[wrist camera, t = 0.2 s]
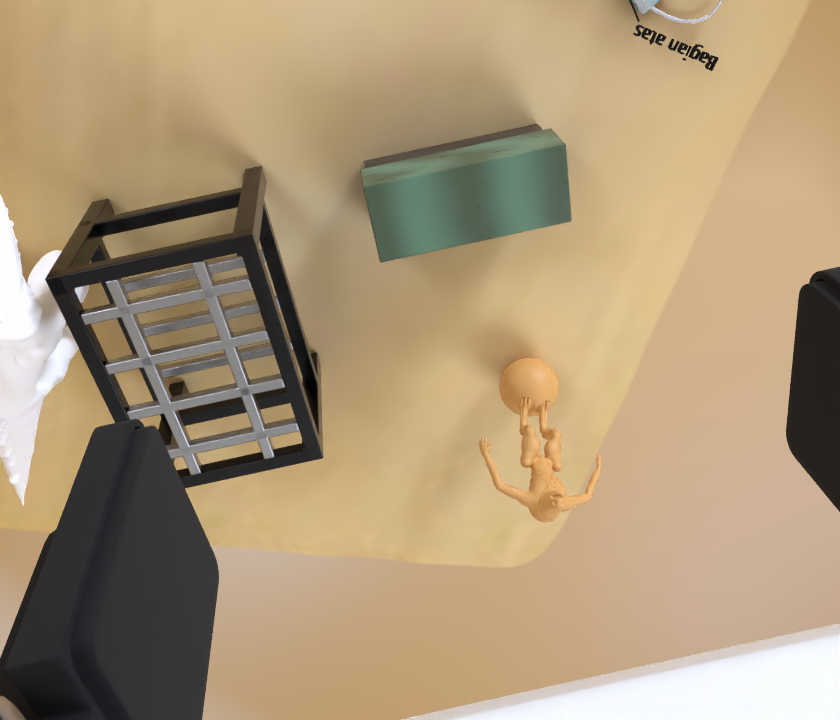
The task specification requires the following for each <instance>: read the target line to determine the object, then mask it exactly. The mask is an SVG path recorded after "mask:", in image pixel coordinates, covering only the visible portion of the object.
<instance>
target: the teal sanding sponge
mask: <svg viewBox="0 0 840 720" xmlns="http://www.w3.org/2000/svg"><path fill="white" fill-rule="evenodd" d="M364 164H365V169H361V170H360V172H361V177H362V183H363V189H364V193H365V197H366V202H367V206H368V211H369V215H370V220H371V224H372V228H373V233H374V237H375V242H376V246H377V250H378V255H379V259H380V262H385V261H390V260H395V259H399V258H404V257H409V256H413V255H418V254H423V253H427V252H432V251H436V250H441V249H446V248H450V247H455V246H460V245H464V244H469V243H473V242H478V241H483V240H487V239H492V238H497V237H501V236H506V235H510V234H515V233H520V232H524V231H529V230H534V229H538V228H543V227H547V226H552V225H557V224H561V223H566V222H571V207H570V194H569V181H568V168H567V155H566V145H565V143H564V142H563V141H562V140H561V139H560V138H559V137H558V136H557V134H556V133H555V132H554V131H553V130H552V129H546V130H542V128H541V127H540V126H539V125H538V124H535V125H530V126H525V127H521V128H516V129H511V130H507V131H502V132H497V133H493V134H488V135H484V136H479V137H474V138H470V139H465V140H460V141H456V142H451V143H446V144H442V145H437V146H432V147H428V148H423V149H418V150H414V151H409V152H404V153H400V154H395V155H391V156H386V157H381V158H377V159H372V160H367V161H364Z"/></svg>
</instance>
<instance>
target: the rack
mask: <svg viewBox="0 0 840 720" xmlns="http://www.w3.org/2000/svg"><path fill="white" fill-rule="evenodd" d="M265 188H266V178H265V175H264V171H263V168H262V166H259V167H254V168H249V169H246V170H245V174H244V179H243V184H242V188H238V189H233V190H228V191H224V192H219V193H214V194H210V195H205V196H200V197H196V198H191V199H186V200H182V201H177V202H172V203H168V204H163V205H158V206H154V207H149V208H145V209H140V210H135V211H131V212H126V213H121V214H117V215H115V213H114V210H113V208H112V206H111V203H110V201H109V199H105V200H100V201H96V202H92V203H91V205H90V207H89V208H88V210H87V212H86V213H85V215H84V216H83V218H82V220H81V221H80V223H79V225H78V226H77V228H76V229H75V231H74V233H73V234H72V236H71V237H70V239H69V241H68V242H67V244H66V246H65V247H64V249H63V250H62V252H61V254H60V255H59V257H58V259H57V260H56V262H55V263H54V265H53V267H52V268H51V270H50V271H49V273H48V275H47V276H46V278H45V281H46V283H47V285H48V287H49V289H50V291H51V293H52V295H53V297H54V299H55V301H56V303H57V305H58V307H59V309H60V311H61V313H62V315H63V317H64V319H65V321H66V323H67V325H68V327H69V329H70V331H71V333H72V335H73V337H74V339H75V341H76V343H77V345H78V348H79V350H80V352H81V354H82V356H83V358H84V360H85V362H86V364H87V366H88V368H89V370H90V372H91V374H92V376H93V378H94V380H95V382H96V384H97V386H98V388H99V390H100V392H101V394H102V397H103V399H104V401H105V403H106V405H107V407H108V409H109V411H110V413H111V415H112V417H113V419H114V421H115V423H119V422H123V421H128V420H133V419H141V418H146V417H150V416H155V415H159V414H160V416H161V421H160V425H159V429H158V431H159V433H160V435H161V437H162V439H163V442H164V444H165V446H166V448H167V451H168V453H169V455H170V457H171V459H172V462H173V464H174V460H175V458H177V457H182V456H183V458H184V460H185V462H186V465H187V467H188V468H186V469H181V470H177V473H178V475H179V477H180V479H181V482H182V484H183V486H184V488H188V487H193V486H198V485H202V484H207V483H211V482H216V481H221V480H225V479H230V478H234V477H239V476H244V475H248V474H253V473H257V472H262V471H266V470H271V469H276V468H280V467H285V466H289V465H294V464H299V463H303V462H308V461H312V460H317V459H322V458H323V433H322V401H321V368H320V361H319V358H318V354H317V353H312V354H310V350H309V347H308V344H307V340H306V337H305V334H304V330H303V327H302V324H301V320H300V317H299V314H298V310H297V307H296V304H295V300H294V297H293V294H292V291H291V287H290V284H289V281H288V277H287V274H286V271H285V267H284V264H283V261H282V257H281V254H280V251H279V247H278V244H277V241H276V237H275V234H274V231H273V227H272V224H271V221H270V217H269V214H268V211H267V207H266V204H265V201H264V197H265ZM236 207H238V210H237V215H236V221H235V226H234V231H233V233H229V234H225V235H220V236H215V237H211V238H206V239H201V240H197V241H192V242H187V243H183V244H178V245H174V246H169V247H164V248H160V249H155V250H150V251H146V252H141V253H136V254H132V255H127V256H122V257H118V258H113V259H110V256H109V254H108V252H107V249H106V247H105V245H104V242H103V240H102V238H103V236H106V235H110V234H115V233H120V232H124V231H129V230H134V229H138V228H143V227H148V226H152V225H157V224H162V223H166V222H171V221H175V220H180V219H185V218H189V217H194V216H199V215H203V214H208V213H213V212H217V211H222V210H227V209H231V208H236ZM259 240H260V243H261V246H262V250H260V248H259ZM235 253H237V255H235V256H230V257H226V258H221V259H216V260H212V261H206V260H207V259H211V258H216V257H221V256H225V255H230V254H235ZM90 260H91V261H92V263H90V264H89V262H90ZM265 262H267V266H268V269H269V272H270V275H271V278H272V282H273V285H274V288H275V291H276V294H277V295H276V296H274V293H273V289H272V286H271V283H270V280H269V277H268V274H267V270H266V267H265V264H264V263H265ZM188 263H192V265H189V266H184V267H179V268H175V269H170V270H165V271H161V272H156V273H152V274H147V275H142V276H138V277H133V278H128V279H124V280H121V278H123V277H128V276H133V275H137V274H142V273H146V272H151V271H156V270H160V269H165V268H170V267H174V266H179V265H184V264H188ZM242 267H246V270H247V273H248V274H247V275H243V276H238V277H233V278H229V279H224V280H220V281H215V282H214V280H213V278H212V275H211V274H214V273H219V272H224V271H228V270H233V269H238V268H242ZM196 277H197V279H198V282H199V284H200V285H196V286H192V287H187V288H183V289H178V290H173V291H169V292H164V293H159V294H155V295H150V296H145V297H141V298H136V299H132V300H130V298H129V296H128V294H127V292H131V291H136V290H140V289H145V288H150V287H154V286H159V285H163V284H168V283H173V282H177V281H182V280H187V279H191V278H196ZM100 282H101V284H102V286H103V288H104V290H105V293H106V295H107V297H108V299H109V302H110V304H108V305H104V306H99V307H95V308H90V309H85V310H84V309H83V307H82V305H81V303H80V301H79V298H78V296H77V294H76V292H75V288H77V287H82V286H86V285H91V284H95V283H100ZM252 288H253V291H254V294H255V297H256V300H253V301H249V302H244V303H239V304H235V305H230V306H225V307H223V305H222V303H221V300H220V297H219V296H222V295H227V294H231V293H236V292H241V291H245V290H250V289H252ZM204 299H205V301H206V303H207V306H208V309H209V310H207V311H202V312H198V313H193V314H188V315H184V316H179V317H175V318H170V319H165V320H161V321H156V322H151V323H147V324H142V325H141V324H140V321H139V319H138V317H137V314H139V313H143V312H148V311H153V310H157V309H162V308H166V307H171V306H176V305H180V304H185V303H190V302H194V301H199V300H204ZM280 307H281V310H282V313H283V317H284V320H285V323H286V326H287V329H288V332H289V336H290V338H288V337H287V334H286V331H285V327H284V324H283V321H282V318H281V315H280V312H279V308H280ZM258 312H261V315H262V318H263V321H264V324H265V326H262V327H257V328H253V329H248V330H244V331H239V332H234V333H232V331H231V328H230V325H229V322H228V319H231V318H235V317H240V316H244V315H249V314H254V313H258ZM116 318H117V319H118V322H119V324H120V326H121V328H122V331H123V333H124V335H125V337H126V340H127V342H128V344H129V346H130V349H131V351H132V353H133V355H128V356H123V357H119V358H114V359H110V360H107V358H106V356H105V354H104V352H103V349H102V347H101V345H100V343H99V341H98V339H97V337H96V335H95V332H94V330H93V328H92V326H91V324H92V323H97V322H102V321H106V320H111V319H116ZM212 322H214V325H215V327H216V330H217V333H218V336H216V337H211V338H207V339H202V340H197V341H193V342H188V343H184V344H179V345H174V346H170V347H165V348H160V349H156V350H152V349H151V347H150V345H149V342H148V340H147V338H146V337H147V336H152V335H157V334H161V333H166V332H170V331H175V330H180V329H184V328H189V327H194V326H198V325H203V324H207V323H212ZM269 339H270V343H265V344H261V345H256V346H251V347H247V348H242V349H238V347H240V346H244V345H249V344H253V343H258V342H263V341H267V340H269ZM221 350H224V353H219V354H214V355H210V356H205V357H201V358H196V359H191V360H187V361H182V362H177V363H173V364H168V365H164V366H158V364H161V363H166V362H170V361H175V360H180V359H184V358H189V357H193V356H198V355H203V354H207V353H212V352H217V351H221ZM292 350H294V352H295V355H296V358H297V361H298V364H299V368H300V371H301V374H302V381H301V378H300V375H299V372H298V369H297V365H296V362H295V359H294V356H293V353H292ZM273 354H275V358H276V361H277V364H278V367H279V370H280V374H276V375H271V376H267V377H262V378H257V379H253V380H249V378H248V375H247V372H246V369H245V367H244V364H243V361H246V360H250V359H255V358H260V357H264V356H269V355H273ZM227 364H229V365H230V368H231V371H232V373H233V376H234V379H235V381H236V383H234V384H230V385H225V386H220V387H216V388H211V389H207V390H202V391H197V392H193V393H189V391H188V389H187V387H186V384H185V382H184V381H183V382H178V383H173V384H170V386H169V389H168V386H167V384H166V382H165V379H164V378H167V377H172V376H177V375H181V374H186V373H190V372H195V371H200V370H204V369H209V368H213V367H218V366H223V365H227ZM138 368H139V369H140V371H141V373H142V375H143V378H144V380H145V382H146V384H147V386H148V389H149V391H150V393H151V395H152V398H153V400H154V401H151V402H147V403H142V404H137V405H133V406H129V405H128V402H127V400H126V398H125V396H124V394H123V392H122V390H121V388H120V386H119V383H118V381H117V379H116V377H115V375H114V374H115V373H120V372H124V371H129V370H133V369H138ZM287 403H291V406H292V409H293V412H294V415H295V418H291V419H286V420H281V421H277V422H272V423H268V424H265V422H264V420H263V417H262V414H261V411H260V409H264V408H269V407H273V406H278V405H283V404H287ZM246 412H247V414H248V416H249V419H250V422H251V424H252V427H249V428H245V429H240V430H235V431H231V432H226V433H222V434H217V435H212V436H208V437H203V438H199V439H194V440H190V438H189V435H188V433H187V431H186V428H185V426H186V425H191V424H195V423H200V422H204V421H209V420H214V419H218V418H223V417H227V416H232V415H237V414H241V413H246ZM299 430H300V433H301V436H302V443H301V444H296V445H292V446H287V447H283V448H278V449H274V447H273V445H272V442H271V439H270V437H274V436H278V435H283V434H288V433H292V432H297V431H299ZM256 440H257V441H258V443H259V446H260V449H261V451H262V452H260V453H255V454H250V455H246V456H241V457H237V458H232V459H227V460H223V461H218V462H214V463H209V464H204V465H201V463H200V461H199V458H198V456H197V454H196V453H200V452H205V451H210V450H214V449H219V448H223V447H228V446H233V445H237V444H242V443H246V442H251V441H256Z"/></svg>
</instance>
